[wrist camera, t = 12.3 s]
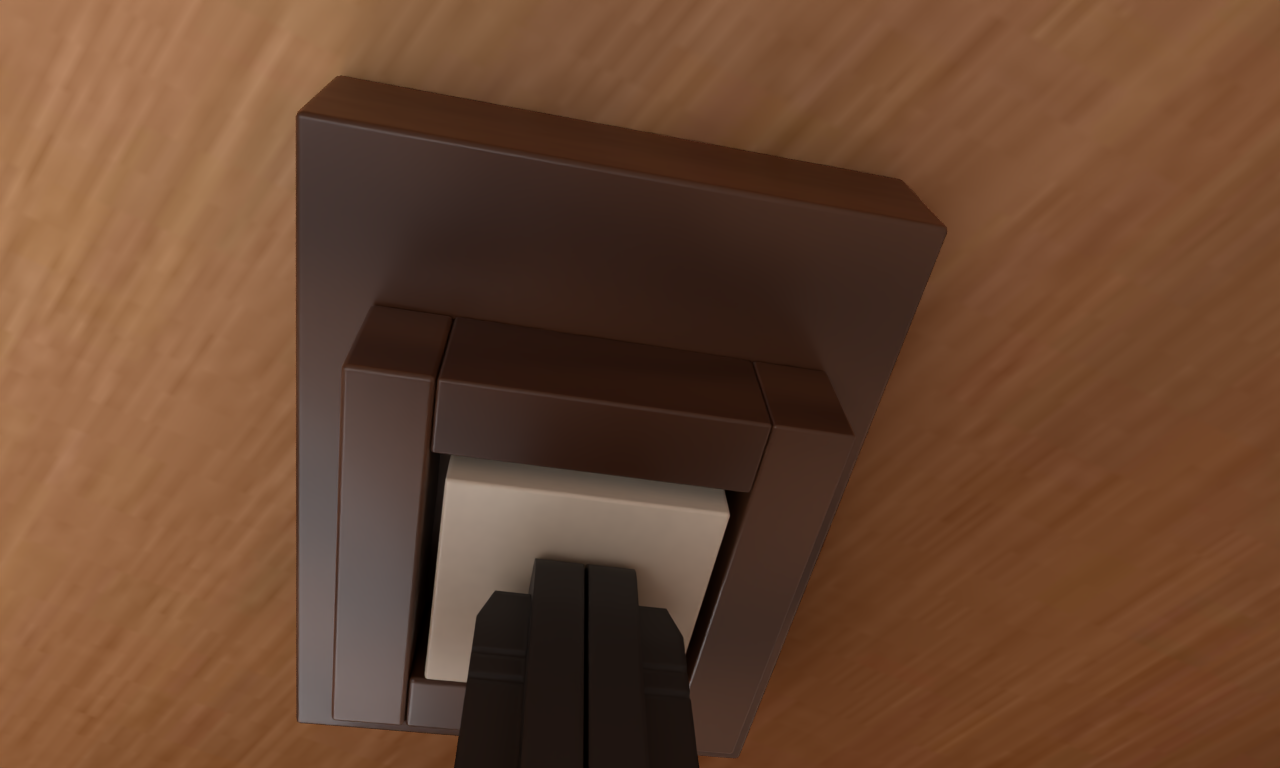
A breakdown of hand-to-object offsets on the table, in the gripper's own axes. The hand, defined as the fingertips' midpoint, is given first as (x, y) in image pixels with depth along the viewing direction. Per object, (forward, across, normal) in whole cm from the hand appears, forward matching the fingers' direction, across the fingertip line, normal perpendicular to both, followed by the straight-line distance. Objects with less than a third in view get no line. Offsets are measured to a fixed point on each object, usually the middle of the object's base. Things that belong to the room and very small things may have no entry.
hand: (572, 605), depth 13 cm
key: (+2, 0, 0) cm, 2 cm away
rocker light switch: (+4, 0, 0) cm, 4 cm away
